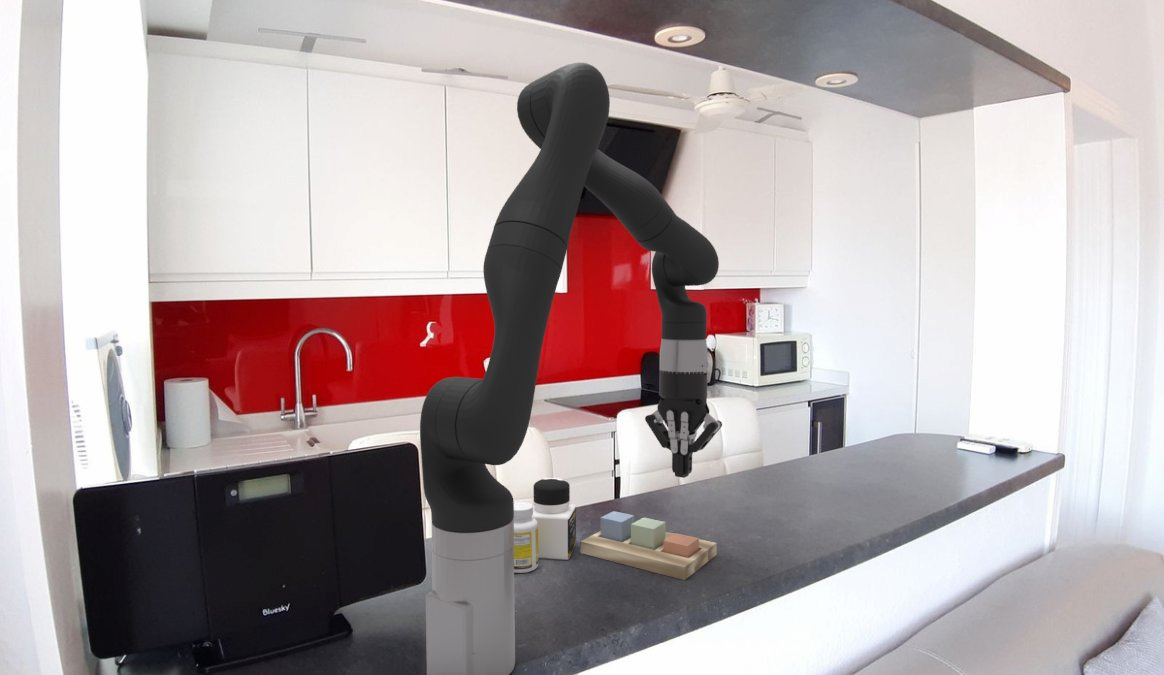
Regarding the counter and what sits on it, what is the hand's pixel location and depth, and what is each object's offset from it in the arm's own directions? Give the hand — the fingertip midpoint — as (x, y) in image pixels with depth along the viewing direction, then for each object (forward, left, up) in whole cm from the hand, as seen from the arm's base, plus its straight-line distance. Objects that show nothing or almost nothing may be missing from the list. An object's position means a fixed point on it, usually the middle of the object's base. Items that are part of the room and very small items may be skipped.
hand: (682, 476), depth 105 cm
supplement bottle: (-16, +20, -14) cm, 29 cm away
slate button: (0, +12, -12) cm, 17 cm away
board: (0, +6, -14) cm, 15 cm away
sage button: (0, +6, -12) cm, 14 cm away
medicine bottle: (-8, +20, -14) cm, 26 cm away
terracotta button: (0, 0, -14) cm, 14 cm away
